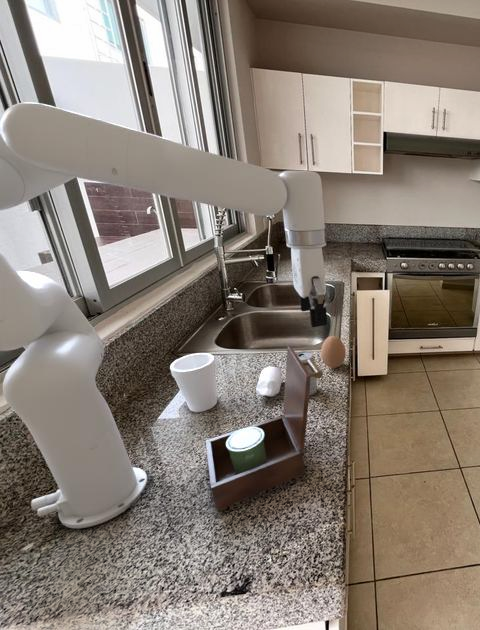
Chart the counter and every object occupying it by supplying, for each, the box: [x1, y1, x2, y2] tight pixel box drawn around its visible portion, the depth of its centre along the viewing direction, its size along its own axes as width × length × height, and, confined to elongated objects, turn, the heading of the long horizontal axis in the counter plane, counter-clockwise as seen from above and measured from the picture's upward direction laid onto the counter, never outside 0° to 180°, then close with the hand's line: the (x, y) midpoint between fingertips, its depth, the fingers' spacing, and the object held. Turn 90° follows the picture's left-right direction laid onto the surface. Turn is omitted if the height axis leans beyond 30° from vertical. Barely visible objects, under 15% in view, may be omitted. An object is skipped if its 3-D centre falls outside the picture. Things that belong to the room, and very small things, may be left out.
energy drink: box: [296, 350, 318, 396], centre depth 95 cm, size 5×5×12 cm
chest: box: [205, 414, 306, 512], centre depth 70 cm, size 16×14×6 cm
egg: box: [320, 335, 347, 369], centre depth 109 cm, size 8×8×11 cm
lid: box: [282, 345, 324, 452], centre depth 72 cm, size 17×14×5 cm
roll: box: [255, 366, 283, 397], centre depth 95 cm, size 6×12×6 cm, turn 16°
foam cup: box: [169, 352, 218, 413], centre depth 89 cm, size 10×9×13 cm
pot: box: [226, 426, 268, 475], centre depth 69 cm, size 7×9×8 cm
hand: (313, 317), depth 74 cm, fingers open, 9 cm apart
